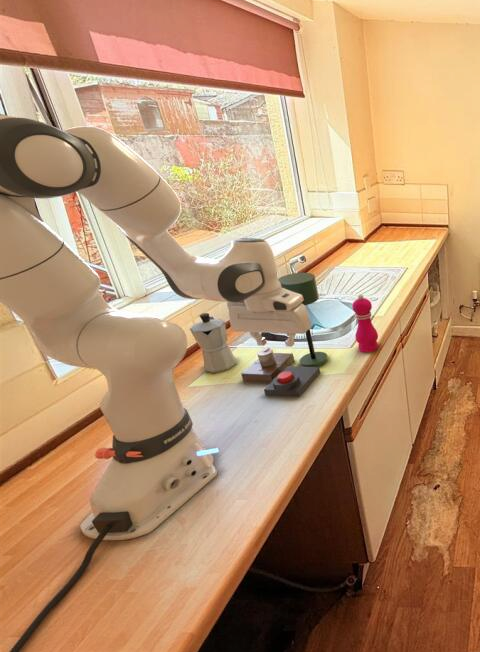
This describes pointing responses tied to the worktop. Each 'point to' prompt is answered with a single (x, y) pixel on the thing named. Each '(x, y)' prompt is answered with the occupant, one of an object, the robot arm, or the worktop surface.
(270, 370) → the dimmer panel
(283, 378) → the lamp button
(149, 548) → the worktop surface
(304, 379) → the switch block
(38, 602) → the worktop surface
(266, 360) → the dimmer knob
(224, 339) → the coffee maker
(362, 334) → the pepper mill
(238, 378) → the worktop surface
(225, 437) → the worktop surface
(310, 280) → the desk lamp
